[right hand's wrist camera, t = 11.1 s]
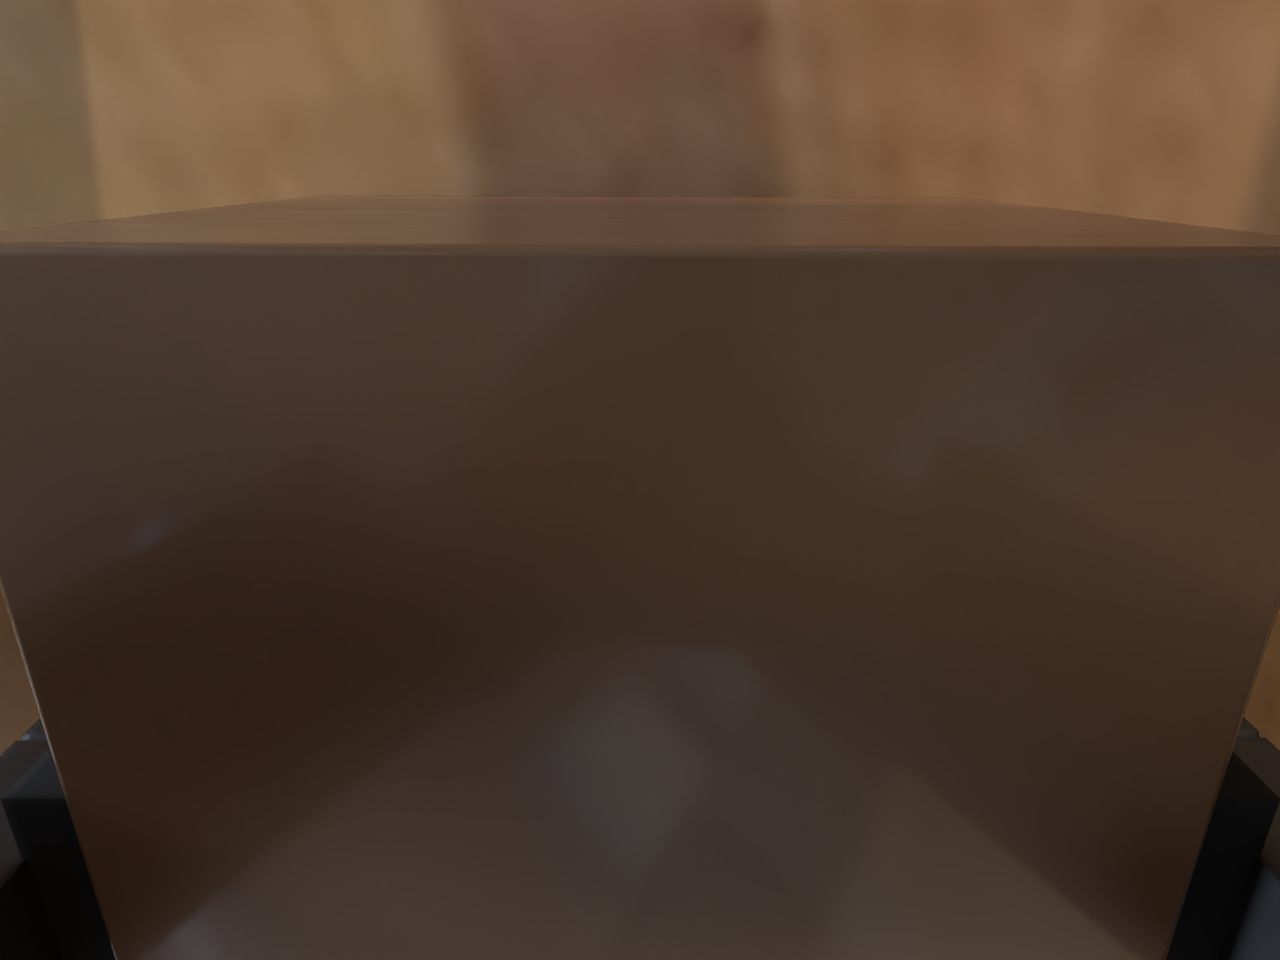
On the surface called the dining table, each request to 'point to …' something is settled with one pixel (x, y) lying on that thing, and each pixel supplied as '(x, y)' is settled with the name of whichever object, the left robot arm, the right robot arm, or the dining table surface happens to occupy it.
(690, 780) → the thick board
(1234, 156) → the dining table surface
